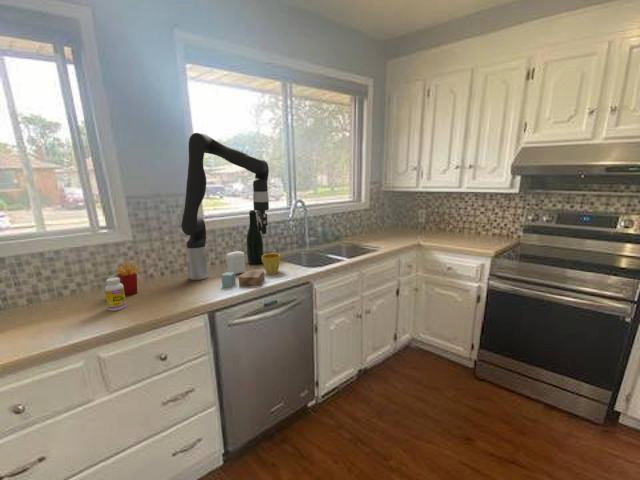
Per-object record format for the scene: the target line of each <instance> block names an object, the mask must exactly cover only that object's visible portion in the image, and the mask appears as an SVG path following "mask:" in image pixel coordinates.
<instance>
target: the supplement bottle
mask: <svg viewBox="0 0 640 480" xmlns="http://www.w3.org/2000/svg"><path fill="white" fill-rule="evenodd" d="M105 282H106V286H105V287H104V292H105V299H106V305H107V310H109V311H114V312H115V311H119V310H120V311H121V310H122V309H123V310H124V309H125V308H126V306H127V301H126V296H125V293H124V286H123V284H121V283H120V278H118V276H117V277H110V278H107V279H106V281H105Z"/></svg>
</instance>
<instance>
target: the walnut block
mask: <svg viewBox="0 0 640 480" xmlns="http://www.w3.org/2000/svg"><path fill="white" fill-rule="evenodd" d="M264 281H265V270H263V271H260V270H257V271H256V270H255V271H253V270H252V271H249V270H245V272H243V273H241V275H239V276H238V286H239V287H250V288H251V286H259V287H260V286H261V285H263V283H264ZM262 282H263V283H262Z"/></svg>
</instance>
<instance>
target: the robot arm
mask: <svg viewBox="0 0 640 480" xmlns="http://www.w3.org/2000/svg"><path fill="white" fill-rule="evenodd" d="M205 154H208V155H209V154H210V155H214V156H217V157H220V158H221V159H223V160H225V161H227V162H228V163H231V164H232V165H235V166H237V167H240V168H242V169H245V170H246V171H249V172H250V173H253V174H254V176H255V177H254V178H255V179H254V180H253V182H252V183H253V184H252V188H253V189H252V190H253V191H252V192H253V197H252V199H253V200H252V201H253V202H252V204H253V210H255V212H256V217H257V224H258V231H260V232H261V234H262V235H266V234H267V227H268V225H269V224H268V214H267V213H266V211H269V209H270V206H269V205H270V202H269V201H270V200H269V198H270V197H269V189H268V188H269V187H268V180H269V172H270V171H269V170H270V169H269V164H268V162H267V161H265V160H264V159H258V158H255V157H253V156H250V154H248V153H246V152H243V151H240V150H238V149H235V148H233V147H230V146H226V145H225V144H222V143H221V142H218V141H217V140H216V139H214V138H212V137H211V136H209V135H208V134H204V133H199V132H194V133H192V134H191V136H190V137H189V139H188V165H187V167H188V168H187V178H186V189H185V192H186V193H185V198H184V199H185V200H184V208H183V214H182V218H181V230H182V232H183V233H184V235H186V236H189V239H188V240H187V241H186V251H187V258H188V260H187V261H186V266H187V275H188V279H189V280H193V281H199V280H205V279H207V278H209V269H208V260H207V251H206V241H207V232H206V231H207V230H206V229H207V227H206V223H205V220H204V219H203V218H202V216H199V215H198V214H199V209H200V206H201V204H202V202H203V200H204V197H205V195H206V191H207V175H206V172H205V168H204V158H205Z"/></svg>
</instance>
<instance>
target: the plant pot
mask: <svg viewBox="0 0 640 480" xmlns="http://www.w3.org/2000/svg"><path fill="white" fill-rule="evenodd" d="M280 263H281V254H279V253H264V255H263V256H262V263H261V264H263V267H264V272H265V274H267V275H275V274H277V273H278V272H279V267H280Z"/></svg>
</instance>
